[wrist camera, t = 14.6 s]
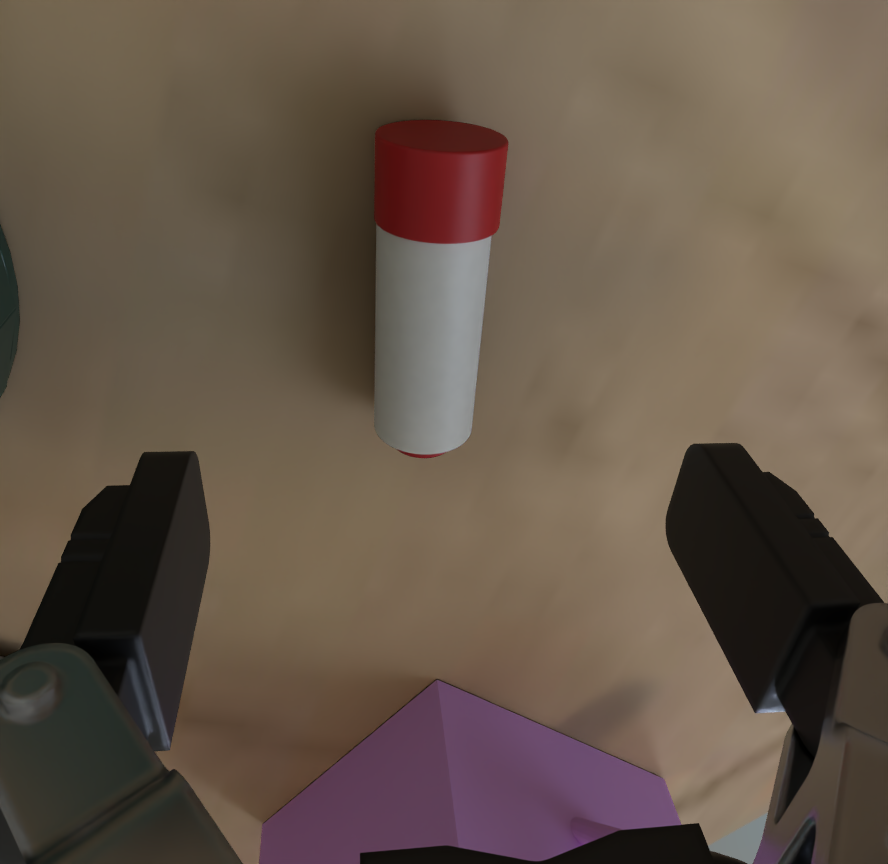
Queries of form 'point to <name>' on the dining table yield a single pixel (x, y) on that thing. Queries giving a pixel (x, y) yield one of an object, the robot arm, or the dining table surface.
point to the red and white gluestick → (432, 277)
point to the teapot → (464, 789)
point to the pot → (7, 313)
